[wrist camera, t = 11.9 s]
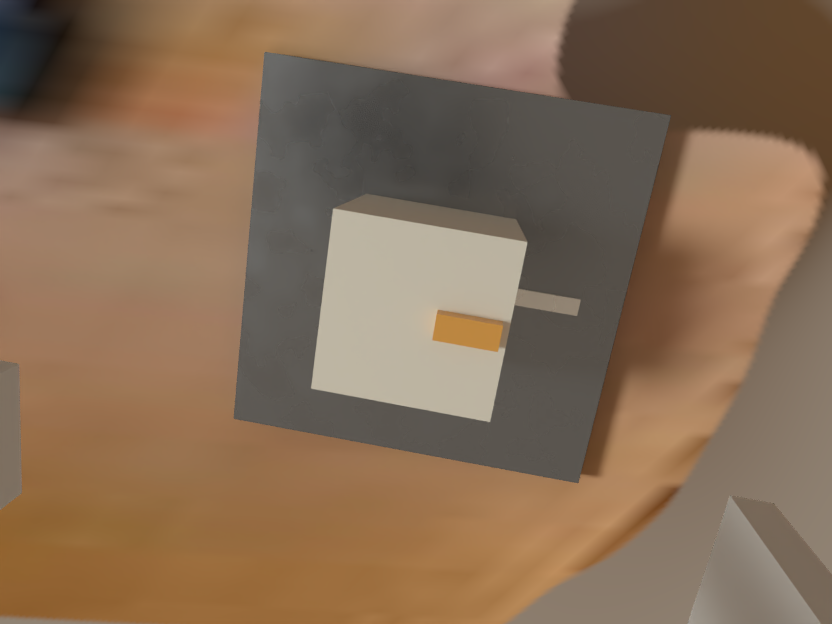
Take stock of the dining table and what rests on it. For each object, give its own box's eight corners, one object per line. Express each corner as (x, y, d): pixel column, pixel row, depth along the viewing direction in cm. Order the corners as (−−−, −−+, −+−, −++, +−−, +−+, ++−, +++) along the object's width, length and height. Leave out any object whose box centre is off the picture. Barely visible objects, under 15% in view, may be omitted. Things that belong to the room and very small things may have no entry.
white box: (347, 335, 31) (307, 394, 24) (366, 193, 29) (329, 210, 22) (487, 361, 31) (490, 428, 24) (516, 219, 29) (529, 244, 22)
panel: (271, 54, 29) (220, 32, 23) (664, 116, 28) (712, 109, 22) (240, 410, 34) (191, 465, 28) (575, 473, 33) (595, 543, 27)
